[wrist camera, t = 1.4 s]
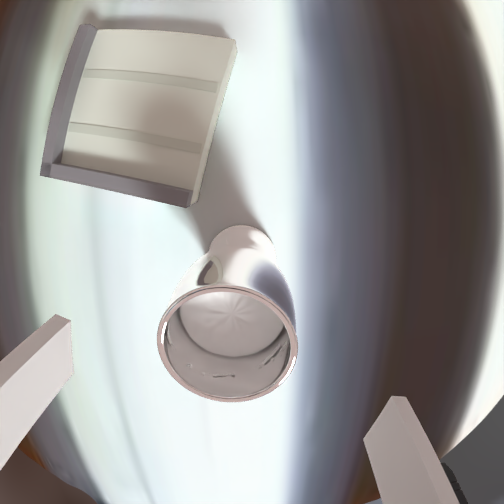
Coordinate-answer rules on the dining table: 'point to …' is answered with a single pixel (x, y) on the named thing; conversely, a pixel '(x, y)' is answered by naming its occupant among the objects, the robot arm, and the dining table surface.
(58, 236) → the dining table surface
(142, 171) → the dock
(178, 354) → the beer glass
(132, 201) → the dining table surface
